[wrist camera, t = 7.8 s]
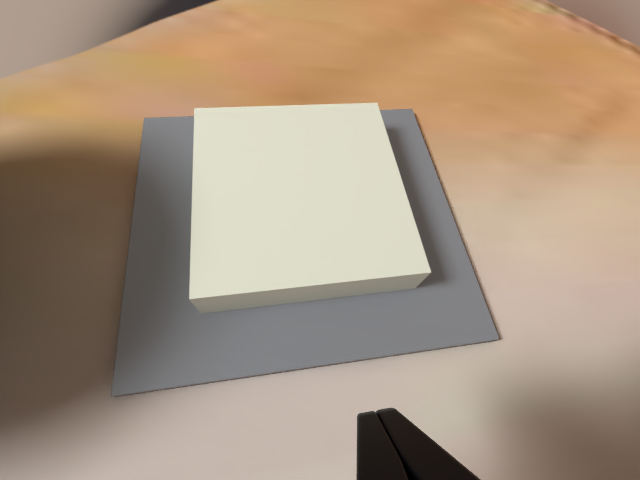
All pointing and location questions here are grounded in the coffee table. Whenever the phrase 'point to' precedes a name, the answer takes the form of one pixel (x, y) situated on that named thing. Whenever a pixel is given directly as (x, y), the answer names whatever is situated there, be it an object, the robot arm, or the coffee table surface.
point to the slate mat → (284, 319)
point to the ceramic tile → (297, 207)
